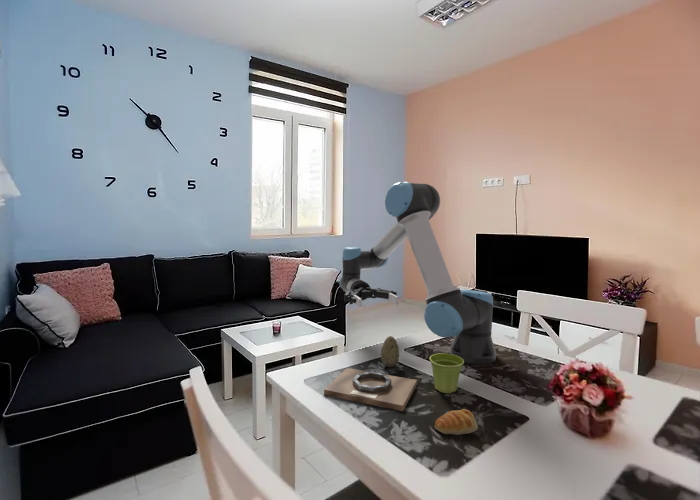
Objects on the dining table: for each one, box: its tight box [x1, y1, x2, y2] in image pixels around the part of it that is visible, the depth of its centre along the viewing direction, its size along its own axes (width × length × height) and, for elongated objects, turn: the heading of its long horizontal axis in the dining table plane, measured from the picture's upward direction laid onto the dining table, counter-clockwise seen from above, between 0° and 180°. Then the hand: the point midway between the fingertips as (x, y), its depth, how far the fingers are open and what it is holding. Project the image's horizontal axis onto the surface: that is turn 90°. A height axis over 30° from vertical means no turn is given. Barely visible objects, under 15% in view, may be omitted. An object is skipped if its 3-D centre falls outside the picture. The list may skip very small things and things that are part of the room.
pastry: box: [434, 408, 478, 436], centre depth 90 cm, size 9×7×4 cm
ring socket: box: [353, 371, 391, 394], centre depth 108 cm, size 10×10×2 cm
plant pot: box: [429, 352, 465, 394], centre depth 109 cm, size 9×9×9 cm
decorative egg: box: [380, 335, 400, 368], centre depth 125 cm, size 6×6×10 cm
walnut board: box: [323, 367, 418, 412], centre depth 108 cm, size 22×16×2 cm
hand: (379, 301), depth 133 cm, fingers open, 13 cm apart
